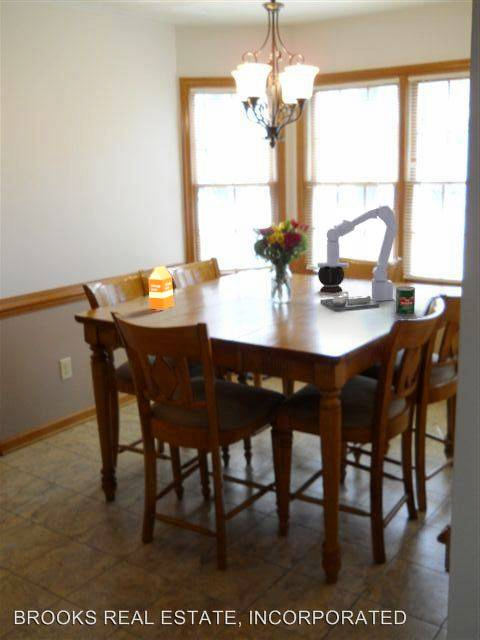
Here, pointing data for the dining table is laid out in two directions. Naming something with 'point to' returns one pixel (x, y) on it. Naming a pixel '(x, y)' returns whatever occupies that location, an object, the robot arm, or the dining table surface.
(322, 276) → the black ball on base
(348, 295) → the leg
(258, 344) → the dining table surface
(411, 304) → the canned tomato
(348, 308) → the bolt plate
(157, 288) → the orange juice
